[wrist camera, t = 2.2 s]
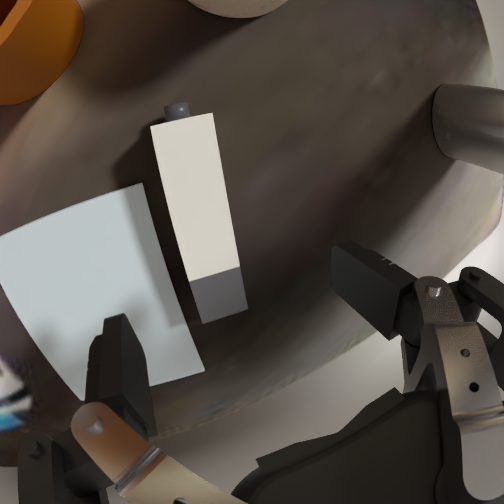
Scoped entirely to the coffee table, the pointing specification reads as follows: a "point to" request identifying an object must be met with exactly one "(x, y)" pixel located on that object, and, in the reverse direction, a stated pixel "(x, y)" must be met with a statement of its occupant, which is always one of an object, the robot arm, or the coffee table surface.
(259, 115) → the coffee table surface
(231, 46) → the coffee table surface
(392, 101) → the coffee table surface
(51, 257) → the paper pad
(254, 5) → the teacup with lid
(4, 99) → the mug
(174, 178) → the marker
